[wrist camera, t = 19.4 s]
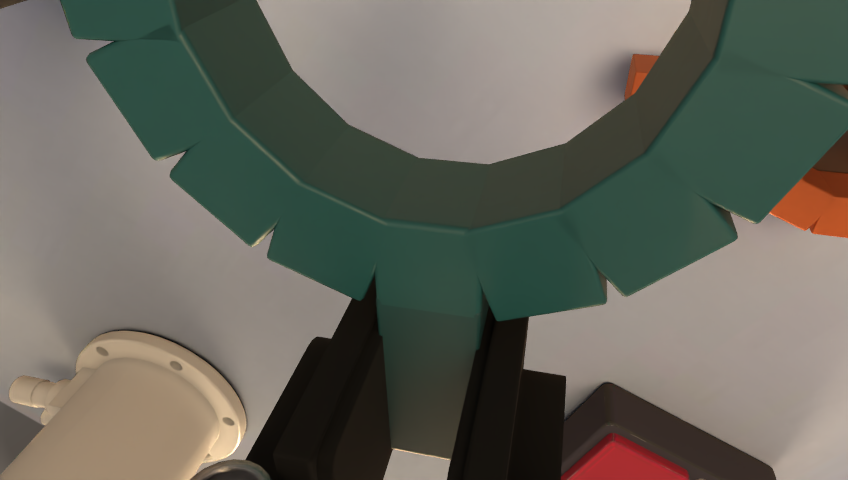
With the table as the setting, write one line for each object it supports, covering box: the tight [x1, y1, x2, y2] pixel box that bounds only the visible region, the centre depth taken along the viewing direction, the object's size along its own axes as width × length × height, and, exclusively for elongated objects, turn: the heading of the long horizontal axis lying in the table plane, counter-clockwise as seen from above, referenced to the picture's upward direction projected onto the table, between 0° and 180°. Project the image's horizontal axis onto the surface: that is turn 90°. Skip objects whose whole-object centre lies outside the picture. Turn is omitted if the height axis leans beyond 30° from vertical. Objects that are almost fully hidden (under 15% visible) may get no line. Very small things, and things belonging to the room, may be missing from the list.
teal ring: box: [60, 0, 848, 460], centre depth 8 cm, size 13×9×2 cm
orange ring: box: [624, 54, 848, 238], centre depth 20 cm, size 13×9×2 cm
